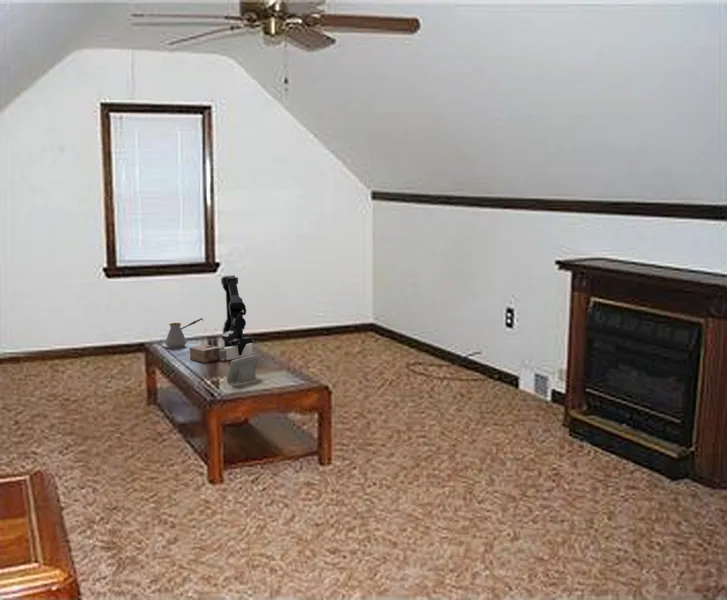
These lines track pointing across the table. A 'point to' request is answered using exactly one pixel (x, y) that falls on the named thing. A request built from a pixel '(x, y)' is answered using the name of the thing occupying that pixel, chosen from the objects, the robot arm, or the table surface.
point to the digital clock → (242, 369)
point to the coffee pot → (177, 335)
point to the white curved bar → (235, 352)
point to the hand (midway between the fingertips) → (238, 354)
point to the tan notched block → (204, 353)
